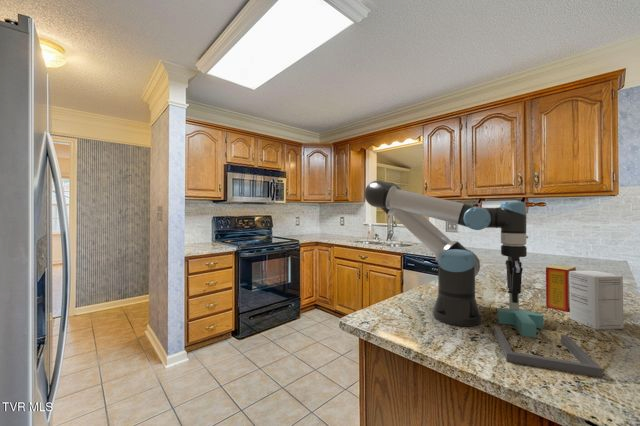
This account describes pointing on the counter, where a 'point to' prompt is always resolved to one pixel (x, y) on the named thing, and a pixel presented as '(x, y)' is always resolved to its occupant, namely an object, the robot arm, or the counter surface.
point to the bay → (584, 367)
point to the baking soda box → (558, 287)
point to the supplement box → (596, 299)
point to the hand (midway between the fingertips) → (514, 310)
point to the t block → (521, 320)
